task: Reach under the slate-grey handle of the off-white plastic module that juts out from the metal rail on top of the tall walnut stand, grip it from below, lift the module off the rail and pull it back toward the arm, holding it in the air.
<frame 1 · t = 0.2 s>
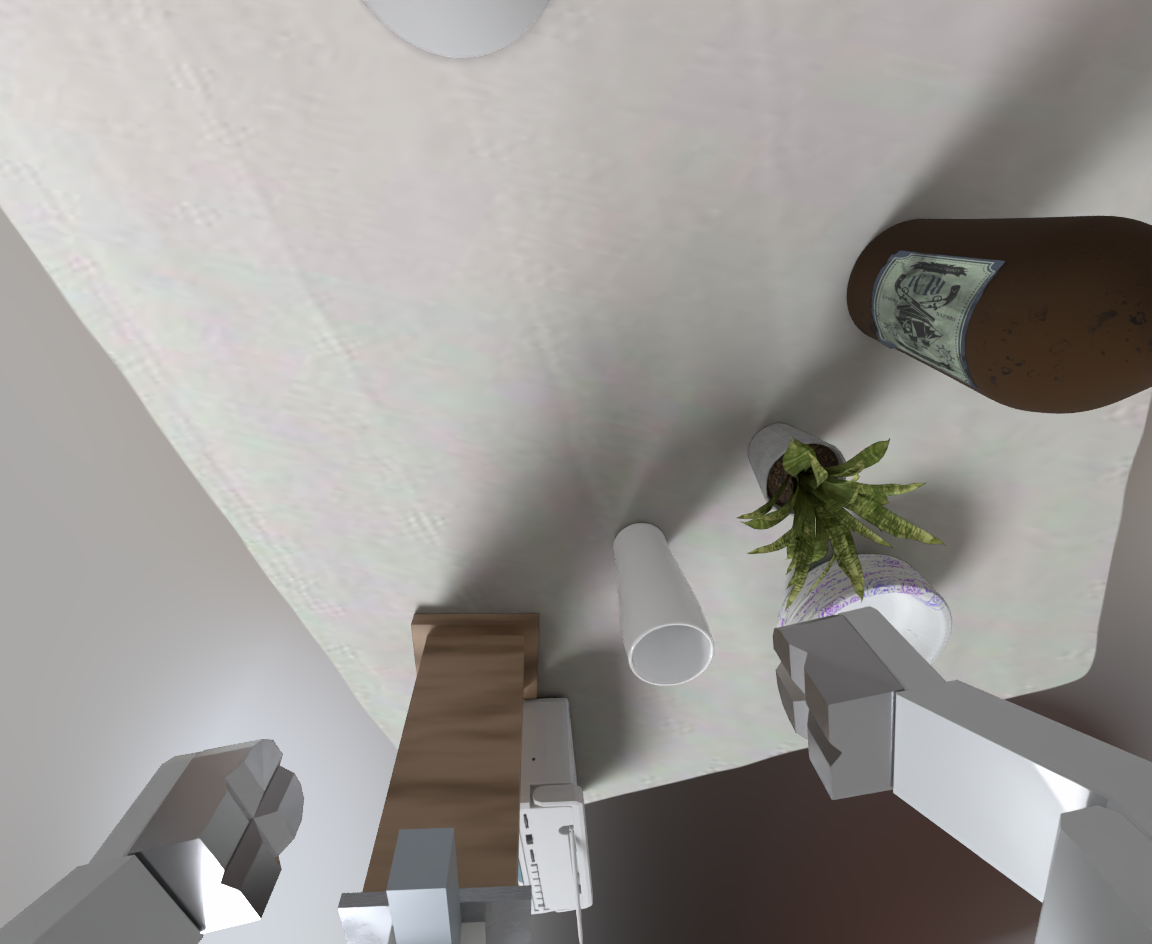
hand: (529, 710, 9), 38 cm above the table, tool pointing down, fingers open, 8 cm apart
paper bowls: (834, 591, 59), on the table
house plant: (762, 443, 50), on the table
stereo radio cassette player: (547, 747, 68), on the table
olive oil: (900, 281, 44), on the table
drinking glass: (638, 541, 54), on the table
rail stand: (478, 652, 59), on the table
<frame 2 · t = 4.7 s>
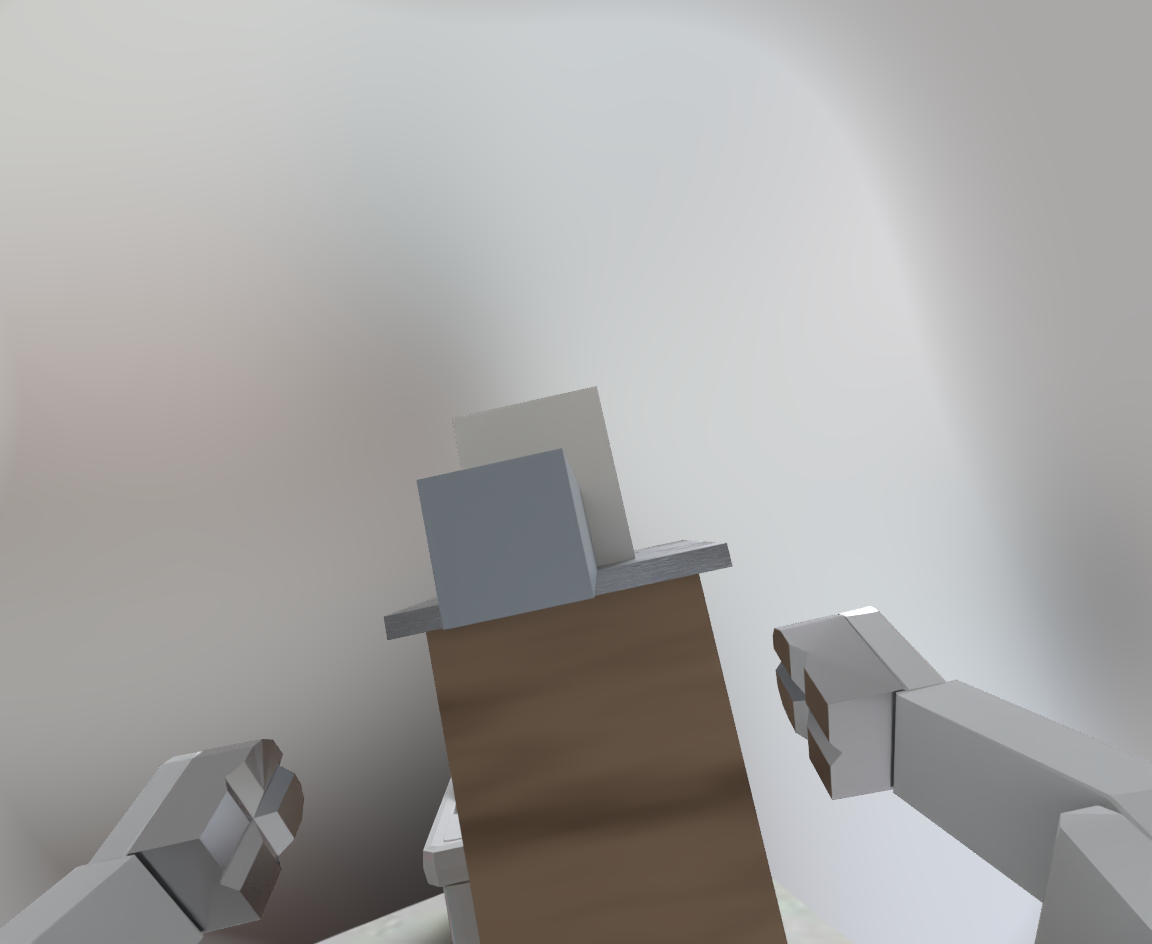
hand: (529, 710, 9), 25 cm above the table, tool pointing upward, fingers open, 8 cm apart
module: (565, 569, 24), point 26 cm above the table, touching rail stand
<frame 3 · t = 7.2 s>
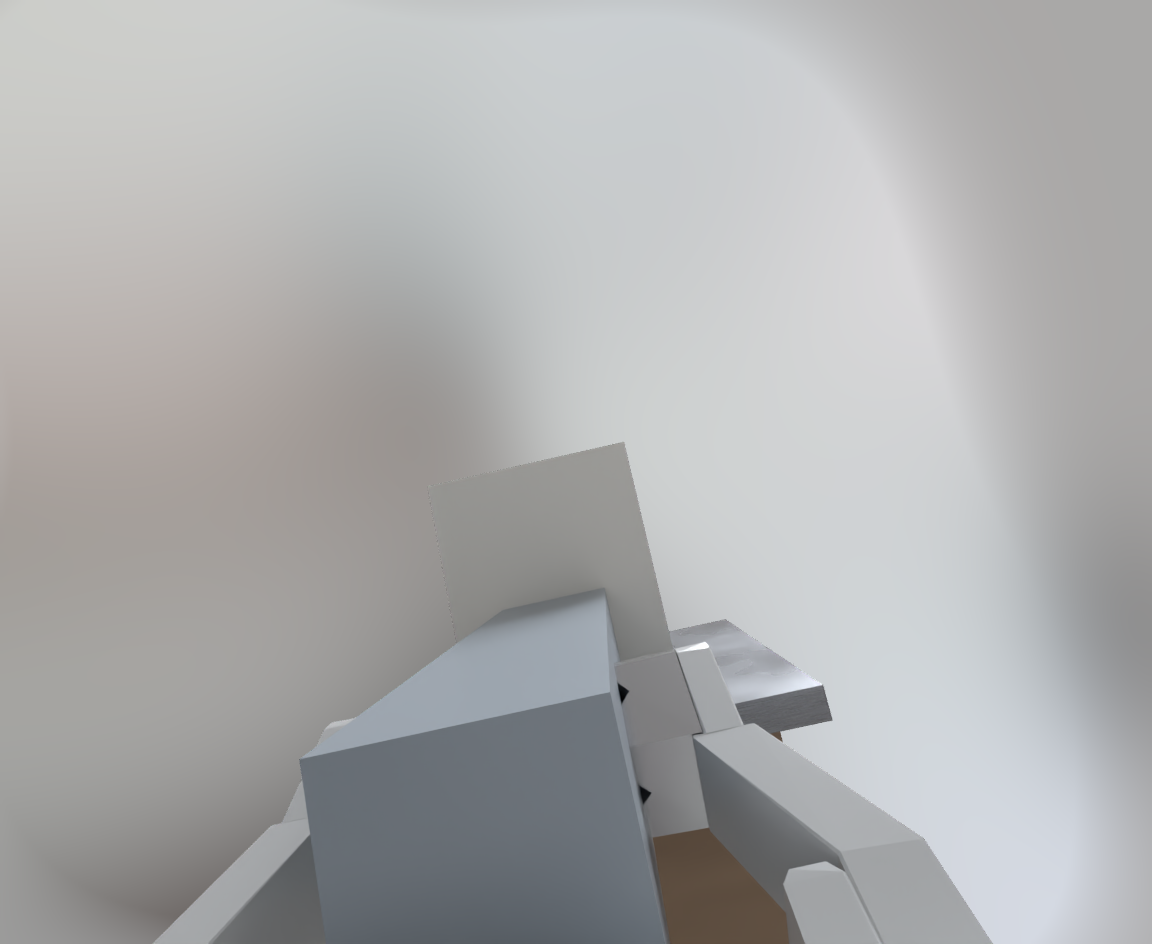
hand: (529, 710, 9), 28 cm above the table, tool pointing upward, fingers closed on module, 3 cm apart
module: (580, 674, 19), point 26 cm above the table, touching gripper, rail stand
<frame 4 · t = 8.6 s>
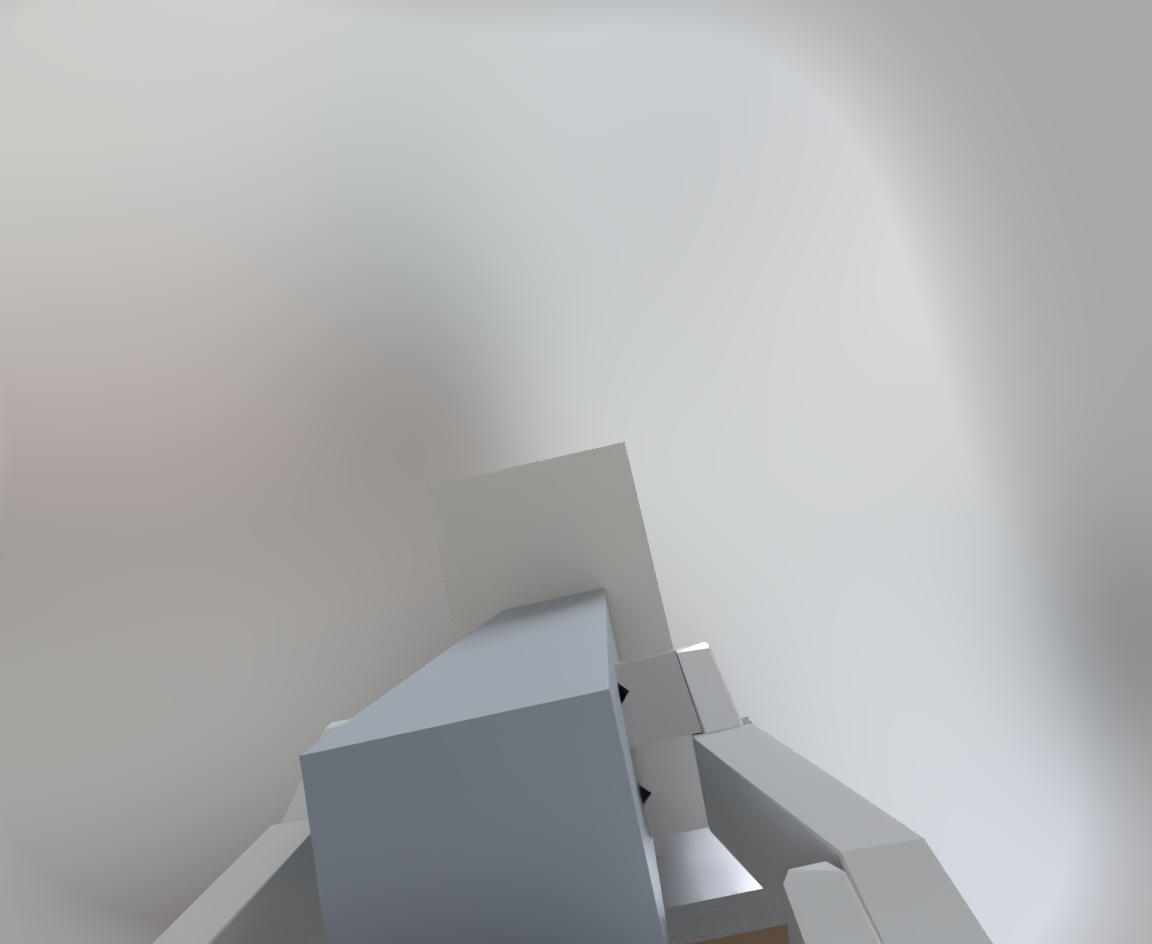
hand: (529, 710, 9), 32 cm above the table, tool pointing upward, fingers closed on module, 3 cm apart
module: (581, 674, 19), point 30 cm above the table, touching gripper
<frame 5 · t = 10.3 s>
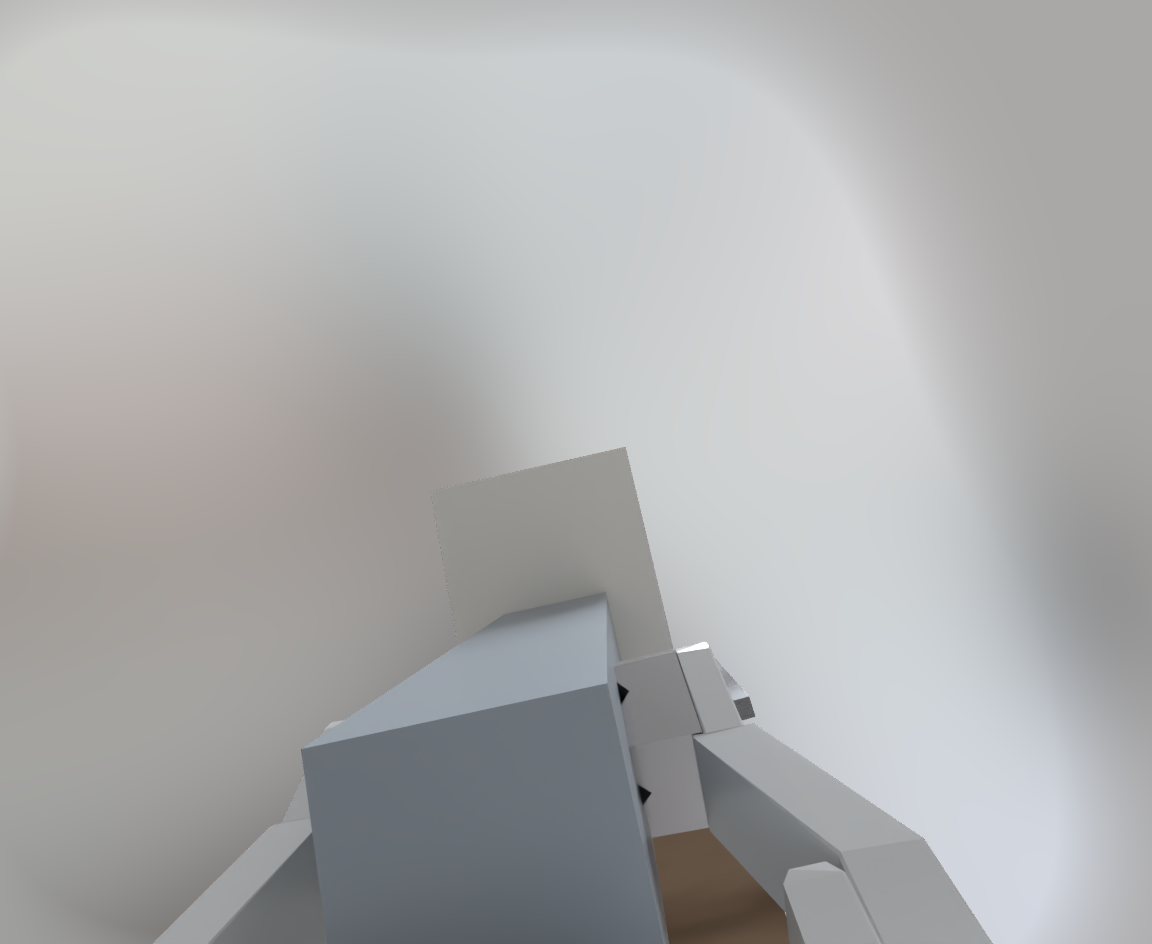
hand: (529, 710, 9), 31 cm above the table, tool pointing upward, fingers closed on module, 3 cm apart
module: (582, 679, 19), point 29 cm above the table, touching gripper
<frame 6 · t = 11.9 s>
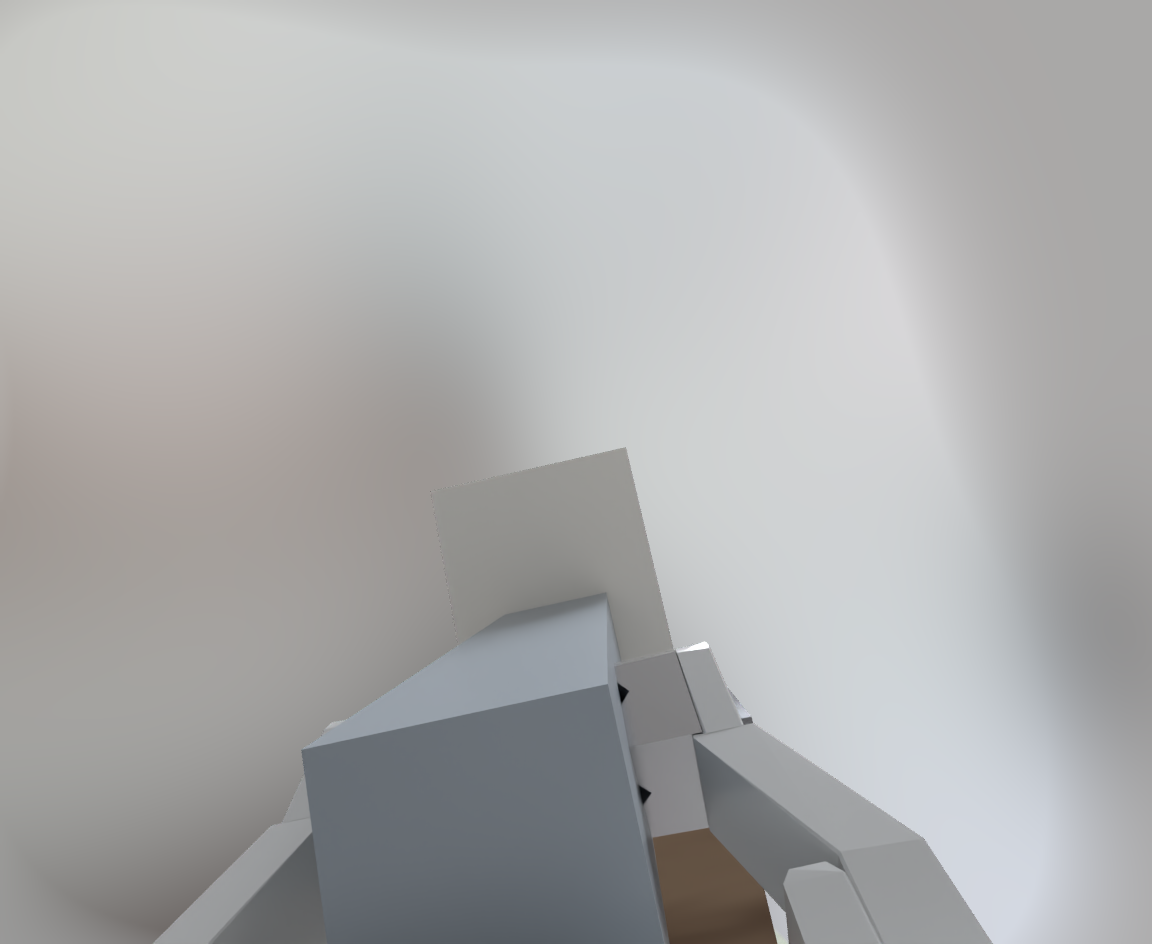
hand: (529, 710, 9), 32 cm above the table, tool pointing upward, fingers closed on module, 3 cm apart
module: (583, 680, 19), point 30 cm above the table, touching gripper
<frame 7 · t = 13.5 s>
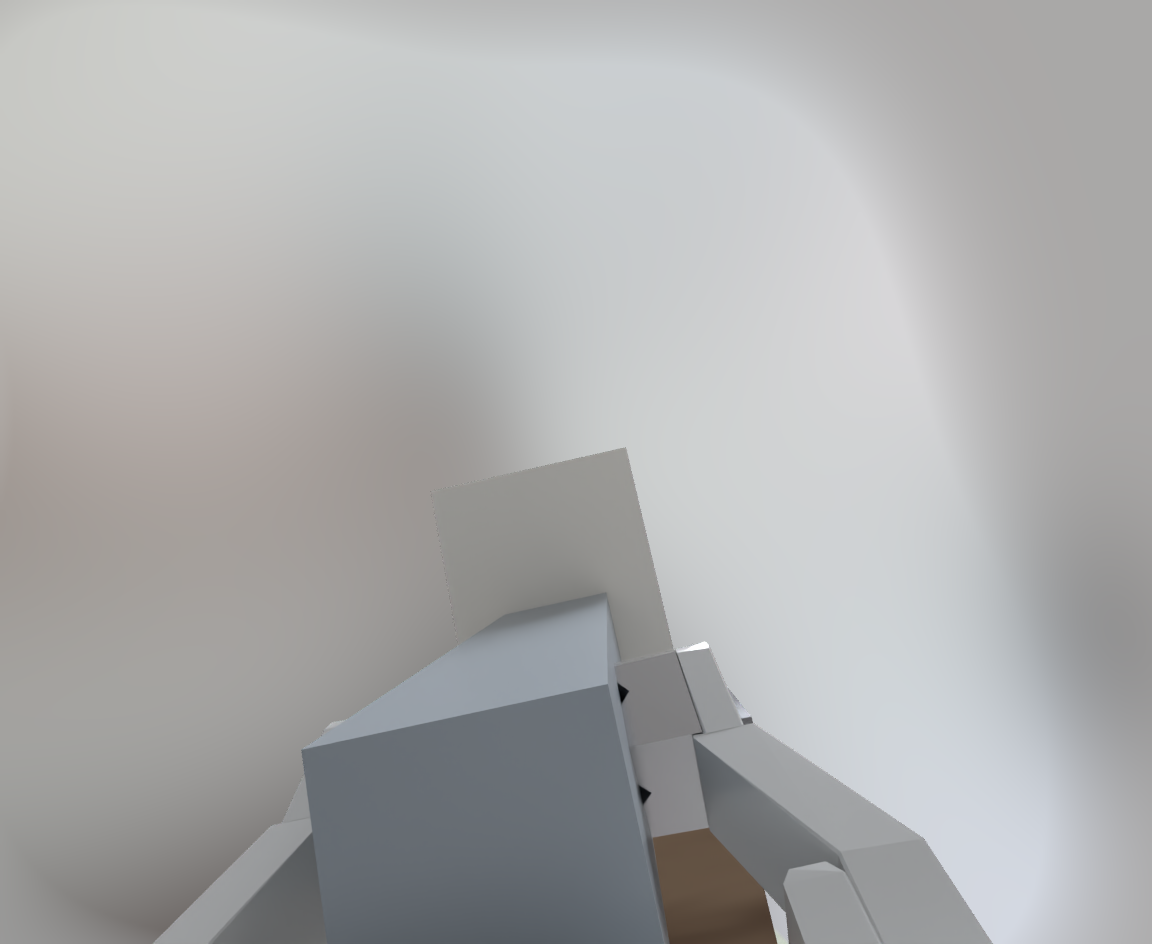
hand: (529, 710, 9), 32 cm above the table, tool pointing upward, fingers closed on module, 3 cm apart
module: (583, 680, 19), point 30 cm above the table, touching gripper
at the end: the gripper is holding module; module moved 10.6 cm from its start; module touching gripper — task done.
